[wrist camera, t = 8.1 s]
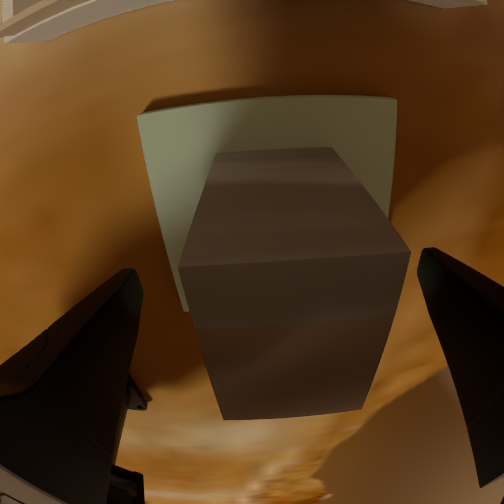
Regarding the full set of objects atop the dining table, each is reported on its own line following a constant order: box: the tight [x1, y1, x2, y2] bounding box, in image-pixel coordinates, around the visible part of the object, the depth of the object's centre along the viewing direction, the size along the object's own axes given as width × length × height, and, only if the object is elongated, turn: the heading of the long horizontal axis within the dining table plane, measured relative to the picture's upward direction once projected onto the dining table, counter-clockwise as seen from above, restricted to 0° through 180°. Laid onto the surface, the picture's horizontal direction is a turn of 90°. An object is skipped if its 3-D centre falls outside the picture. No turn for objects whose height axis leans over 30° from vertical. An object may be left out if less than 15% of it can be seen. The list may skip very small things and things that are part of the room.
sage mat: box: [137, 95, 397, 312], centre depth 12 cm, size 9×9×1 cm
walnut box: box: [178, 147, 411, 420], centre depth 9 cm, size 6×4×6 cm
